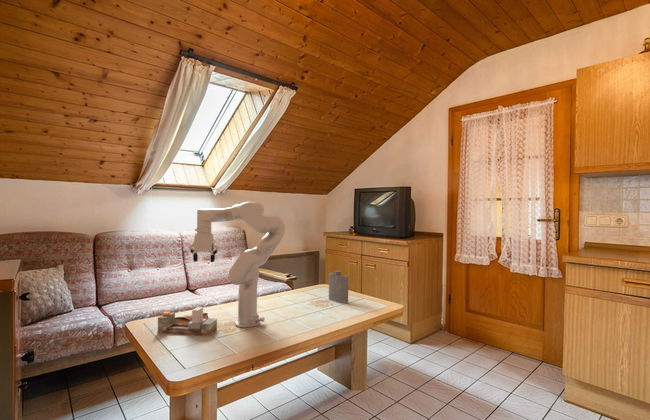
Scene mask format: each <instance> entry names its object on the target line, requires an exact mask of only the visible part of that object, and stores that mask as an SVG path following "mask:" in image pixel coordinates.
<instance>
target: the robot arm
mask: <svg viewBox="0 0 650 420" xmlns="http://www.w3.org/2000/svg"><path fill="white" fill-rule="evenodd" d="M264 213H265V208H264V206H263V204H262V203H260V202H257V201H246V202H242V203H240V204H239V203H238V204H234V205H233V206H232V207H223V208H219V207H217V208H216V207H215V208H198V209H197V212H196V228H194V231H195V232H196V233H195V234H194V238H193V244H191V245H189V246H188V249H189V251H190V252H191V254H192V259H193V260H192V261H193V262H194V263H196V262H198V256H199V254H198V253H199V252H202V253H203V252H205V253H207V252H209V253H210V254H211V255H210V261H209V262H210V263H214V262H215V261H216V256H215V255H216V254H217V253H218V251H219V250H220V246H219V245H217V244H215V241H214V234H213V232H212V223H222V222H223V223H224V222H232V221H237V222H238V221H244V222H245V223H246V224H247V225H248V226H250V227H251V228H252V229H253V230H254V231H256V232H258V233H260V234H265V235H264V236H263V237H262V238H261V239H260V241H259V242H258V243H257V245H256V246H255V247H253V248H250V249H245V250H243V252H242V253H240V255H239V256H238V258H237V259H236V260H235V262H234V263H233V265H232V266H231V267H230V270H229V271H228V280H229V282H230V283H231V284H232V285H233V286H234V285H235V286H238V292H237V293H238V302H237V303H238V307H237V311H238V312H237V313H238V314H237V315H238V317H237V319H236V320H235V321H234V325H235V326H236V327H238V328H252V327H255V326H256V327H257V326H258V325H259V324H260V323H261V322H263V323H264V322H265V317H264V316H260V315H259V313H258V282H259V277H260V268H259V267H261V266H263V265H265V264H266V263H267V261H268V259H269V258H270V257H271V255H272V254H273V252H274V251H275V250H276V248H277V247H278V246H279V244H280V243H281V242H282V240H283V237H284V235H285V223H284V221H283V219H281V218H280V217H279V216H277V215H264Z"/></svg>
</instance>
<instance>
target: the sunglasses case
mask: <svg viewBox="0 0 650 420" xmlns="http://www.w3.org/2000/svg"><path fill="white" fill-rule="evenodd" d="M209 318H210V317H209V315H208V312H203V319H207V320H208V319H209ZM191 321H192V314H191V315H185V316H175V324H188V323H189V322H191Z"/></svg>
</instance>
